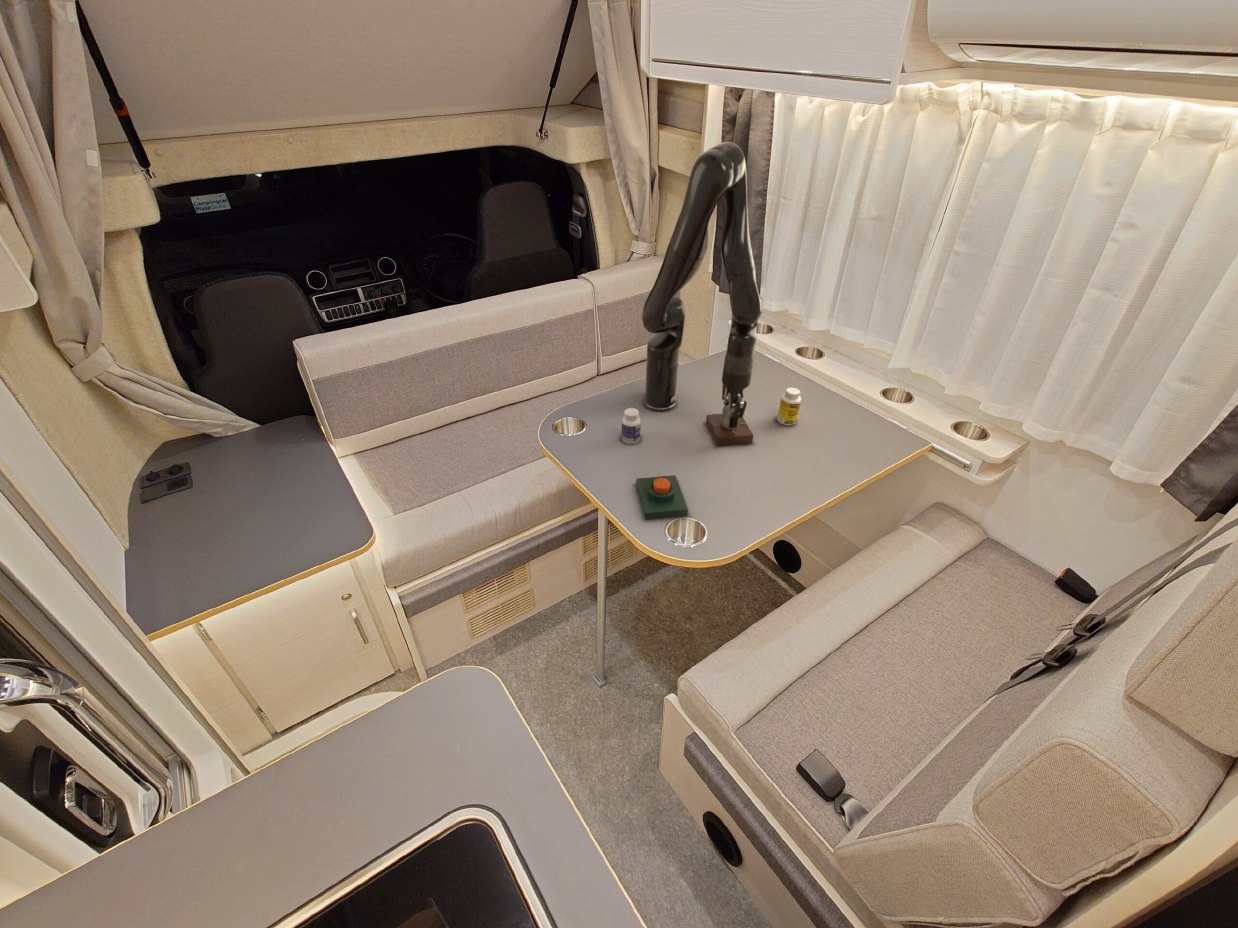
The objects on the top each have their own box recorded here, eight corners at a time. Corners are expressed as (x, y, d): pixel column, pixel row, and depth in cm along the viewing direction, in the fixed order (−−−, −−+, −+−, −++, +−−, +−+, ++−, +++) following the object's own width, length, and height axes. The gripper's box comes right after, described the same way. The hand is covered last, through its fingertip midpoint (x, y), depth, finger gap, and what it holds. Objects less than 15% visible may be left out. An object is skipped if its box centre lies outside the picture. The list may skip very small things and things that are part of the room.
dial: (718, 420, 159) (721, 404, 156) (735, 419, 160) (737, 403, 156) (723, 429, 155) (726, 413, 152) (740, 428, 156) (743, 412, 153)
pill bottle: (638, 445, 154) (639, 418, 149) (619, 443, 155) (620, 415, 150) (641, 434, 158) (642, 408, 153) (623, 432, 159) (623, 405, 154)
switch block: (636, 485, 140) (636, 472, 138) (674, 481, 142) (675, 469, 139) (645, 520, 130) (645, 507, 128) (687, 516, 131) (688, 503, 129)
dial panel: (705, 423, 163) (706, 414, 162) (738, 420, 165) (739, 411, 163) (717, 446, 154) (718, 437, 152) (751, 444, 155) (753, 434, 153)
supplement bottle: (784, 428, 162) (791, 397, 156) (772, 418, 166) (779, 388, 160) (800, 423, 164) (807, 393, 157) (787, 414, 168) (794, 384, 161)
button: (651, 484, 135) (652, 478, 134) (667, 482, 135) (668, 477, 134) (654, 494, 132) (655, 489, 131) (671, 493, 132) (671, 487, 131)
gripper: (761, 379, 142) (751, 435, 152) (743, 354, 153) (734, 407, 163) (732, 381, 141) (724, 437, 151) (716, 356, 152) (709, 409, 162)
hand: (729, 421), depth 157 cm, fingers closed on dial, 5 cm apart
